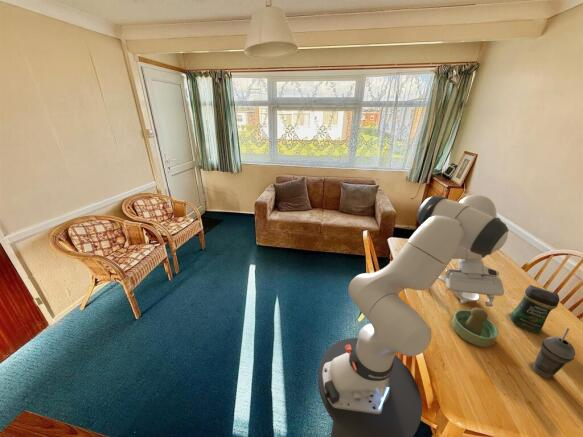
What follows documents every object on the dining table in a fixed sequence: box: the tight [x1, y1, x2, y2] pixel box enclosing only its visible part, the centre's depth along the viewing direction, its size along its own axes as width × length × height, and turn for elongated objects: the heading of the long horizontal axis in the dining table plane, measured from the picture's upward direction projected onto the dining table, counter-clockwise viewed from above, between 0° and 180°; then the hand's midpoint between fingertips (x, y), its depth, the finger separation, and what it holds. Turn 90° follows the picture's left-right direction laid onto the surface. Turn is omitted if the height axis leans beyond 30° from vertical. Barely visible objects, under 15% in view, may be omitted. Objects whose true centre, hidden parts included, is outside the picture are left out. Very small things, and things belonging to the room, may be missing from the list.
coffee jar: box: [510, 284, 560, 333], centre depth 94 cm, size 10×8×19 cm
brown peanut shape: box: [463, 307, 489, 336], centre depth 92 cm, size 6×6×11 cm
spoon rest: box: [437, 274, 480, 303], centre depth 114 cm, size 24×12×7 cm, turn 55°
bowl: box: [451, 309, 499, 348], centre depth 93 cm, size 14×14×5 cm
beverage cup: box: [532, 327, 576, 379], centre depth 76 cm, size 7×7×20 cm
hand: (476, 304), depth 93 cm, fingers open, 8 cm apart
